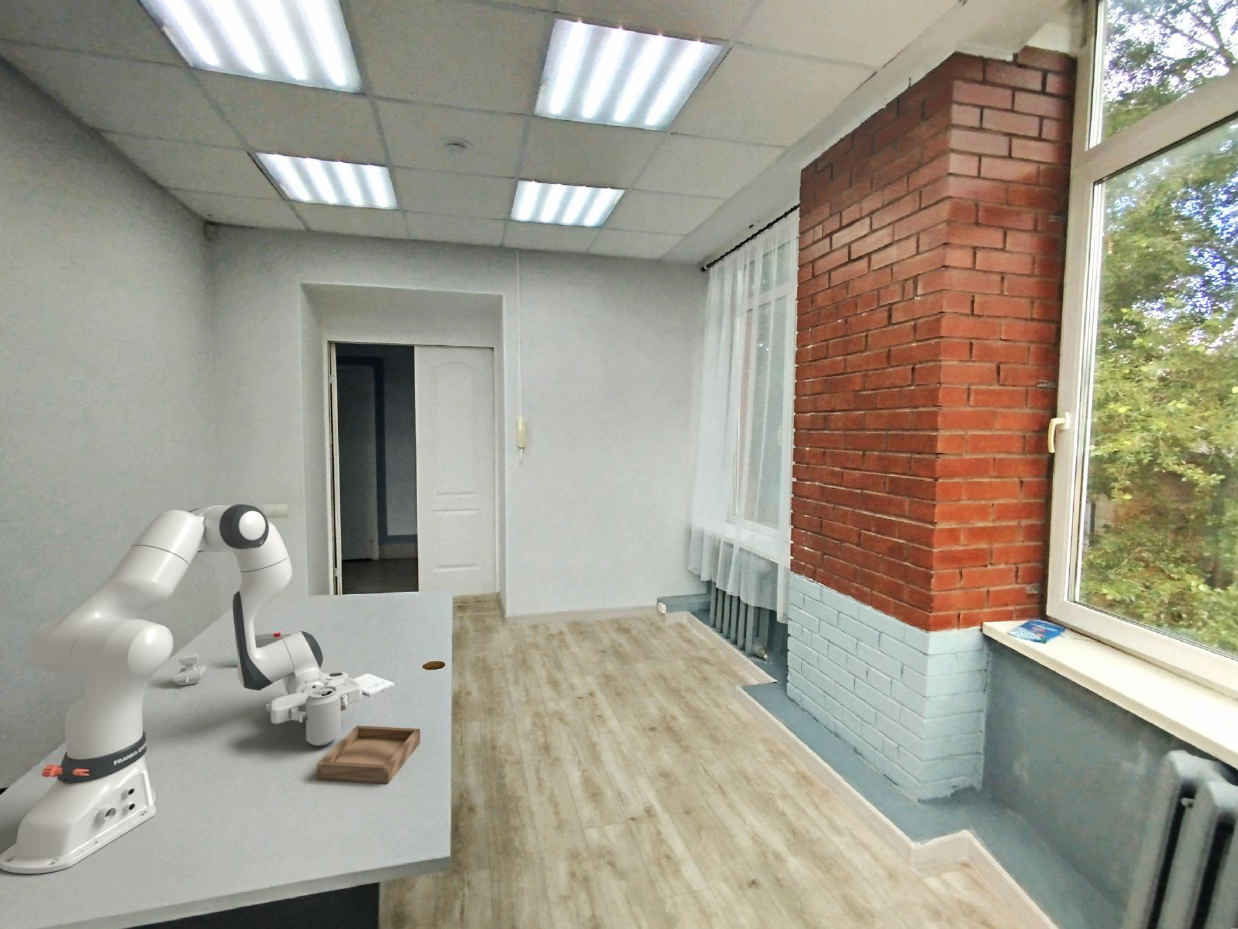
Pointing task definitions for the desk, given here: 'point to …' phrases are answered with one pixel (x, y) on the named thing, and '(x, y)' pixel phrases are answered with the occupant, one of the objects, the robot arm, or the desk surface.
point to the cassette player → (268, 638)
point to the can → (323, 715)
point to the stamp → (189, 670)
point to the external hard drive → (373, 684)
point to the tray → (369, 754)
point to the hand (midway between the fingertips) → (324, 713)
